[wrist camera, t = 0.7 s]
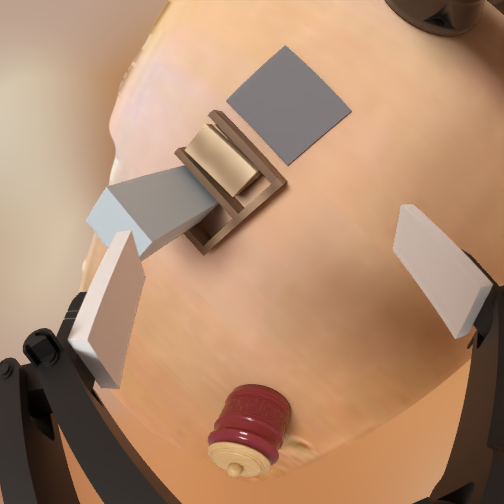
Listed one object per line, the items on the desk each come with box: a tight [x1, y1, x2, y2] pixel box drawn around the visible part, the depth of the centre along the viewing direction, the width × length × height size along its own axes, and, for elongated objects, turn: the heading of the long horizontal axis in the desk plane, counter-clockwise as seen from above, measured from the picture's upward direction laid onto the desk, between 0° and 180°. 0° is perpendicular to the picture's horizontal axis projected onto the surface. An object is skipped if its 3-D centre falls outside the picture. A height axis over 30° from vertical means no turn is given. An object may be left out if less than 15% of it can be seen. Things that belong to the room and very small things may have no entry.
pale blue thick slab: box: [86, 166, 219, 261], centre depth 36 cm, size 5×7×18 cm
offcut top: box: [185, 124, 260, 197], centre depth 38 cm, size 4×9×2 cm, turn 48°
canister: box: [208, 385, 290, 477], centre depth 48 cm, size 13×13×18 cm
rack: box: [174, 110, 287, 256], centre depth 41 cm, size 15×13×3 cm
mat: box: [226, 46, 351, 166], centre depth 36 cm, size 11×12×1 cm
